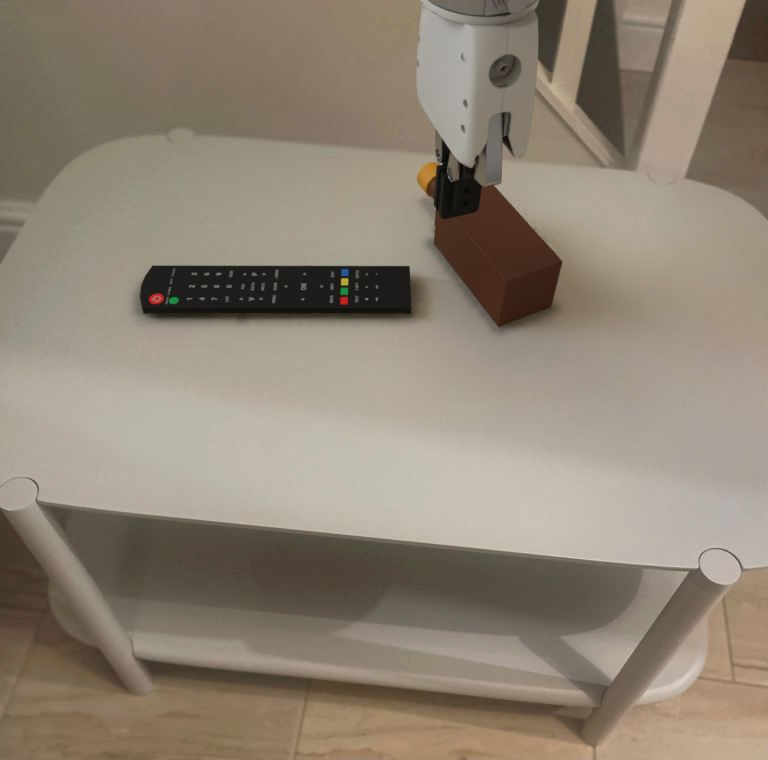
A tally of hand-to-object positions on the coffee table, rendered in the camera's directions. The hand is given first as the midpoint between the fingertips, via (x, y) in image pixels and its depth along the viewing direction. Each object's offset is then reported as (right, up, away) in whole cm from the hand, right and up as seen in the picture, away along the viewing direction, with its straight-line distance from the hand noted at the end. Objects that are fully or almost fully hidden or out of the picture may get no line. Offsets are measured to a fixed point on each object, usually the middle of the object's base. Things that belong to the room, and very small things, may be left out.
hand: (455, 209), depth 62 cm
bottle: (+7, -6, +6) cm, 11 cm away
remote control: (-15, -6, +9) cm, 19 cm away
